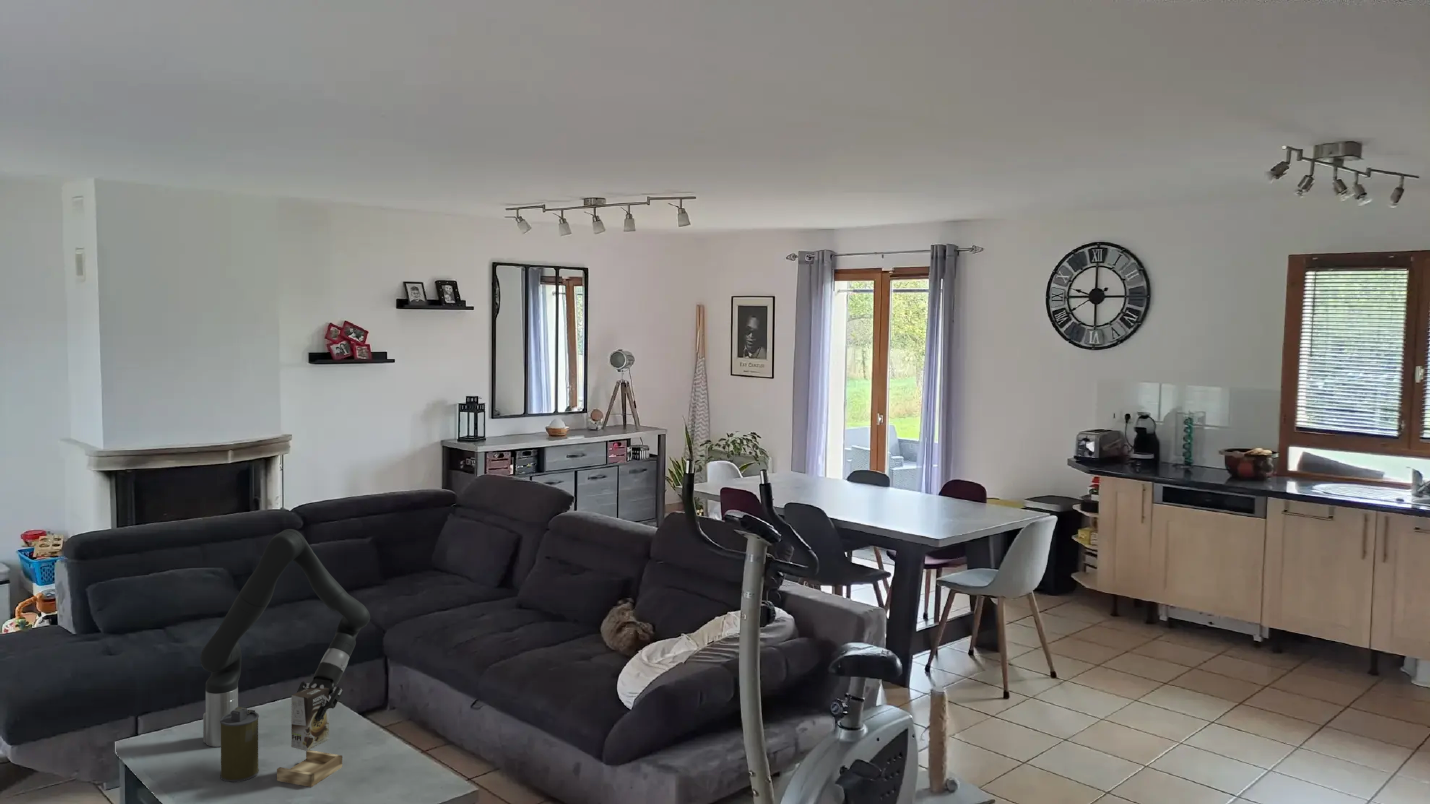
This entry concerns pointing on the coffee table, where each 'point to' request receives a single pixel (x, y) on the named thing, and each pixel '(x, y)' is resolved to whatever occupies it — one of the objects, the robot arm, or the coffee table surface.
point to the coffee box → (309, 719)
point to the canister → (239, 745)
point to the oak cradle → (311, 769)
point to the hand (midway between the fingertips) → (306, 718)
